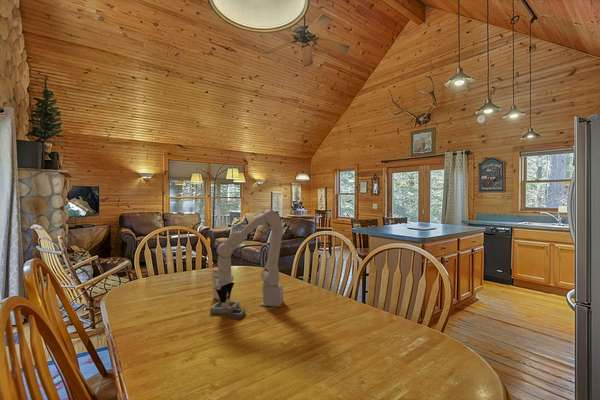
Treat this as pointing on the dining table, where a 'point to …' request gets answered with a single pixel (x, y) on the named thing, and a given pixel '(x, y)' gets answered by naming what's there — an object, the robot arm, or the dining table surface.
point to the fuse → (225, 305)
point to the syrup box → (215, 277)
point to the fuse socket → (236, 313)
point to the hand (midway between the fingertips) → (225, 300)
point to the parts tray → (224, 311)
